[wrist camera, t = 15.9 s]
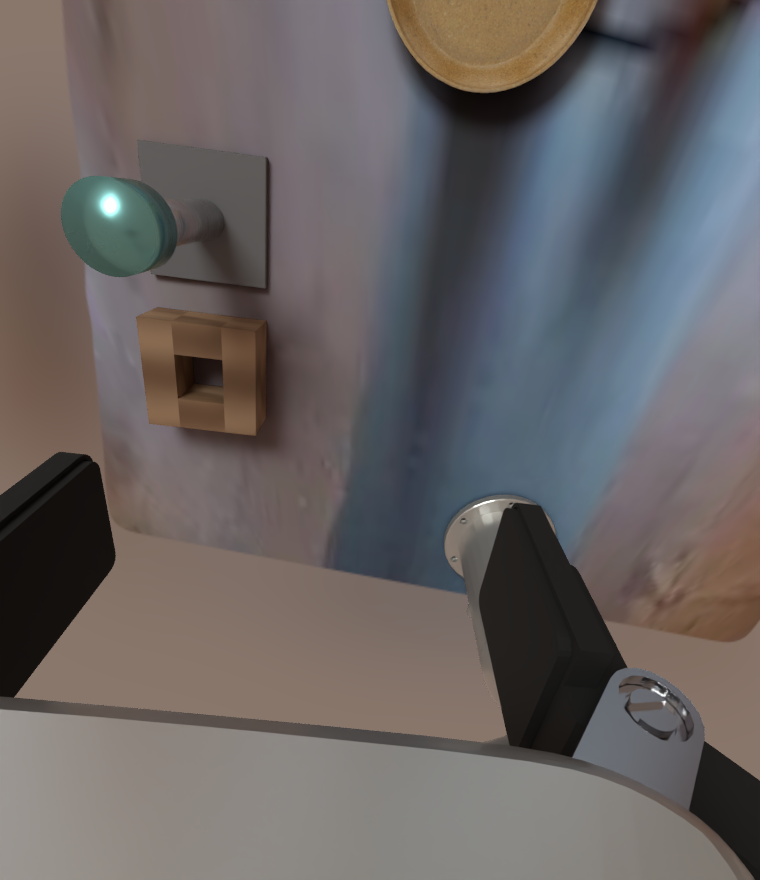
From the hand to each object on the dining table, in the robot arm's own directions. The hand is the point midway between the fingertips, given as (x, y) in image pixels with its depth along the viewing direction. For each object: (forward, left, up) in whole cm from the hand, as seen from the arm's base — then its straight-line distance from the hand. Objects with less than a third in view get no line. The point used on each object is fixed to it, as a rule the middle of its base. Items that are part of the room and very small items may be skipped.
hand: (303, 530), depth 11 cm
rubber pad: (+4, +14, -34) cm, 37 cm away
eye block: (-9, +14, -34) cm, 38 cm away
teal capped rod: (+4, +14, -34) cm, 37 cm away
